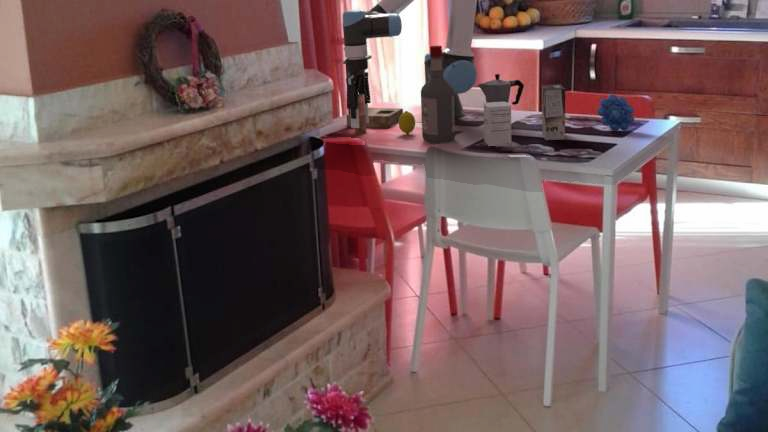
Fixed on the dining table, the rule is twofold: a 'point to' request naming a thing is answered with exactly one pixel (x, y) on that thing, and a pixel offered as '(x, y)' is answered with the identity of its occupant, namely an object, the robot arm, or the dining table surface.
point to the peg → (361, 115)
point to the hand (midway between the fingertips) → (360, 125)
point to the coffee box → (553, 112)
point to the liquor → (437, 103)
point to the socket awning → (378, 113)
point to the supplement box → (497, 123)
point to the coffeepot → (500, 90)
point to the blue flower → (616, 112)
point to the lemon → (406, 122)
